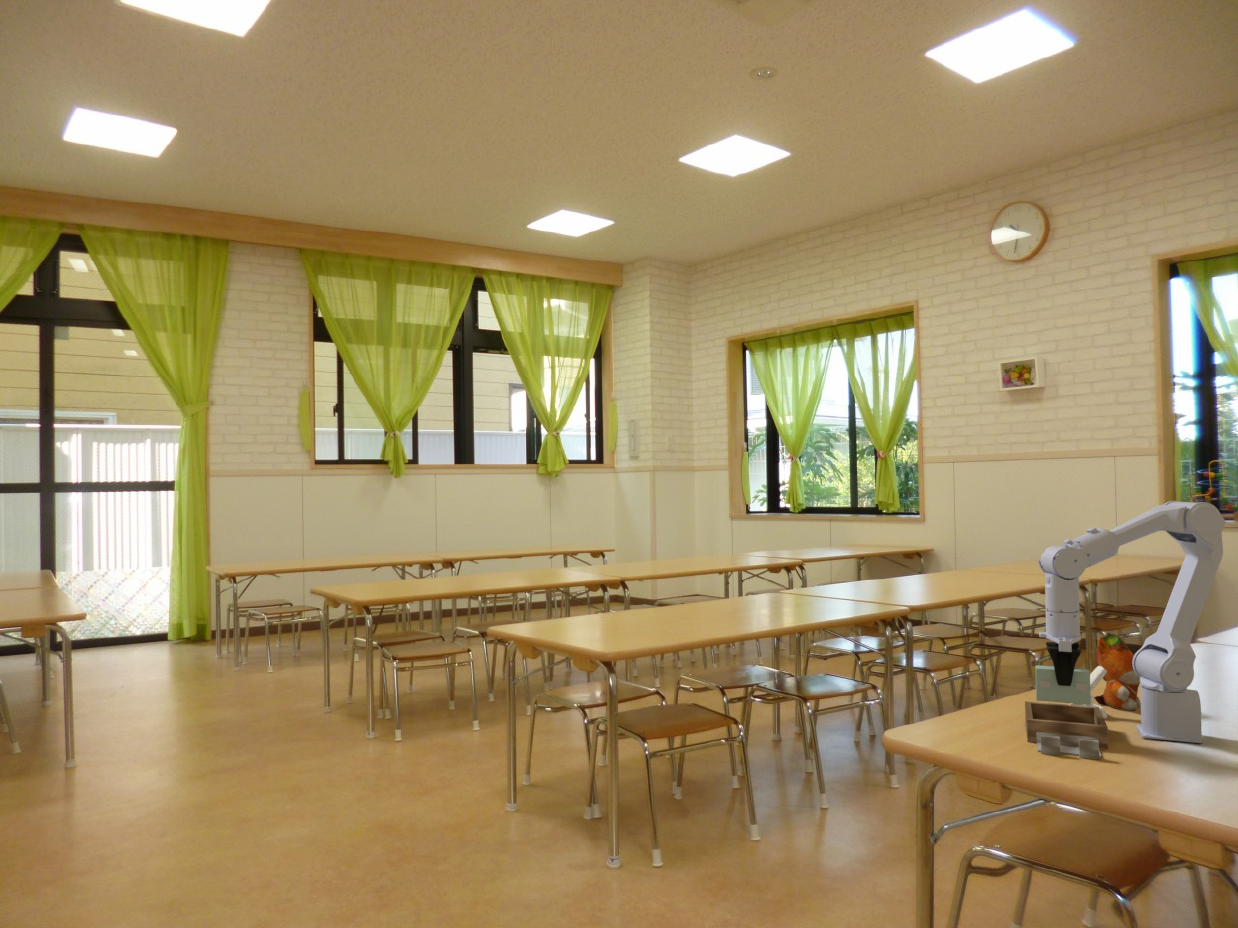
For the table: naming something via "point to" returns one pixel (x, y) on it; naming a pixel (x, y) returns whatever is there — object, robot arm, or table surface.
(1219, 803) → the table surface
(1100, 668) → the white vr controller
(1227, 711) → the table surface
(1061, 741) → the carcass
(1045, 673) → the door
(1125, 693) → the toy
